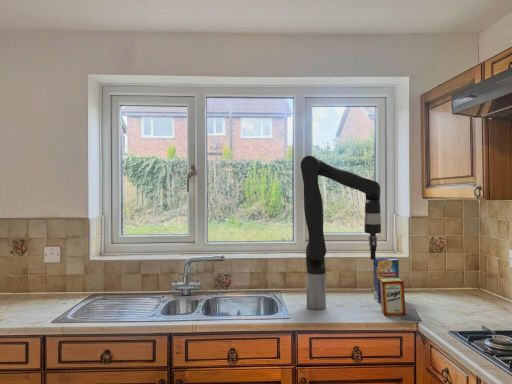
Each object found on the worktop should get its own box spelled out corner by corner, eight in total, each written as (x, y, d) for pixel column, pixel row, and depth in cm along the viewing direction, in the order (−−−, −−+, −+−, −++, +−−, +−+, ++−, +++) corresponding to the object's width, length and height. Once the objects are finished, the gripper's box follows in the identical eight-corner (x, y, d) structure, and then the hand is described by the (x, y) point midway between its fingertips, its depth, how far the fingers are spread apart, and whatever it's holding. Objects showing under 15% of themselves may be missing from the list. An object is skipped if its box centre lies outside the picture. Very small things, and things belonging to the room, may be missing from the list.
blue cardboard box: (399, 302, 212) (398, 259, 212) (378, 303, 211) (378, 260, 211) (393, 298, 219) (393, 257, 219) (373, 299, 218) (373, 258, 218)
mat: (401, 320, 183) (401, 319, 183) (396, 308, 200) (396, 307, 200) (422, 321, 181) (422, 320, 181) (414, 309, 199) (414, 308, 199)
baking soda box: (384, 315, 189) (382, 281, 189) (381, 311, 196) (379, 278, 196) (405, 315, 188) (403, 280, 188) (402, 311, 195) (400, 277, 195)
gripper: (363, 221, 201) (364, 257, 201) (365, 223, 188) (365, 261, 188) (379, 221, 200) (379, 257, 200) (382, 224, 187) (382, 262, 187)
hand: (373, 259), depth 194 cm, fingers closed
